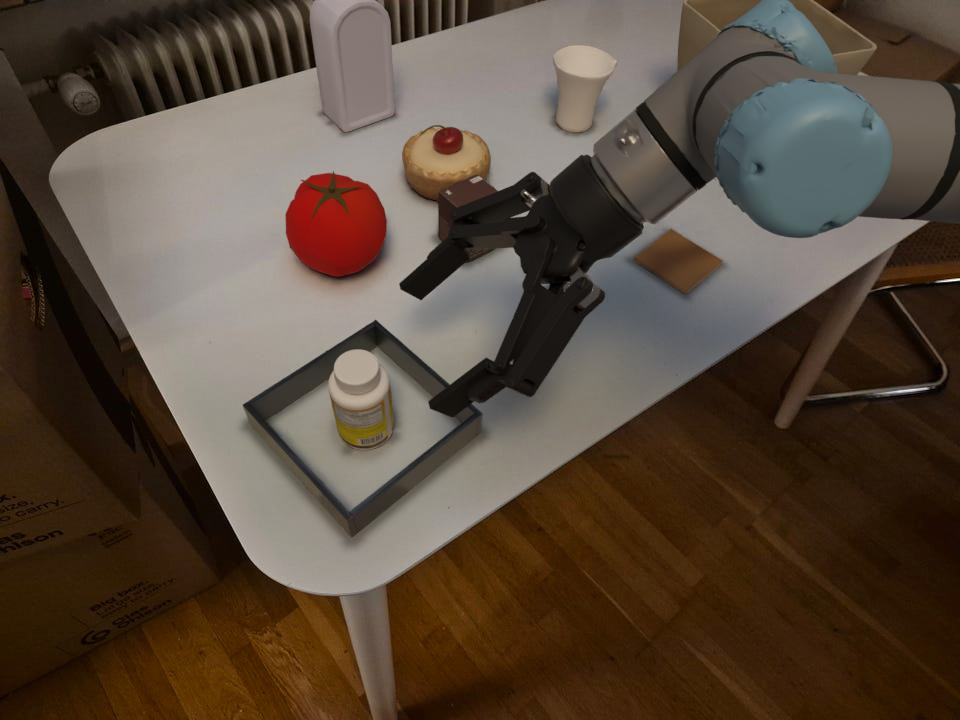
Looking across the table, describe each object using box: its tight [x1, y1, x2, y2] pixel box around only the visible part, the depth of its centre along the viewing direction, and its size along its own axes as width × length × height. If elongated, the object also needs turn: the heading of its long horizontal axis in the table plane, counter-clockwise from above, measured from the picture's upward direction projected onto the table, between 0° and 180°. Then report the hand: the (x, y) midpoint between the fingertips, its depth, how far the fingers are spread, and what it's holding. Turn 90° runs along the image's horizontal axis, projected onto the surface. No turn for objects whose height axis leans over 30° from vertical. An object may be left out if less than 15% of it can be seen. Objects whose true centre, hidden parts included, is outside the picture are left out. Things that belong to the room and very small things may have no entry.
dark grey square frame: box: [242, 319, 484, 538], centre depth 65 cm, size 16×16×4 cm
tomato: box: [285, 170, 388, 277], centre depth 77 cm, size 12×12×11 cm
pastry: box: [401, 124, 492, 201], centre depth 88 cm, size 12×12×9 cm
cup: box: [552, 44, 619, 134], centre depth 98 cm, size 9×9×10 cm
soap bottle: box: [309, 0, 396, 133], centre depth 91 cm, size 9×7×23 cm
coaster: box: [632, 228, 724, 295], centre depth 84 cm, size 8×8×1 cm
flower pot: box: [676, 0, 878, 75], centre depth 96 cm, size 19×19×17 cm
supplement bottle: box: [327, 349, 395, 451], centre depth 62 cm, size 6×6×10 cm
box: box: [437, 175, 504, 263], centre depth 81 cm, size 6×6×7 cm
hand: (424, 347), depth 59 cm, fingers open, 13 cm apart
